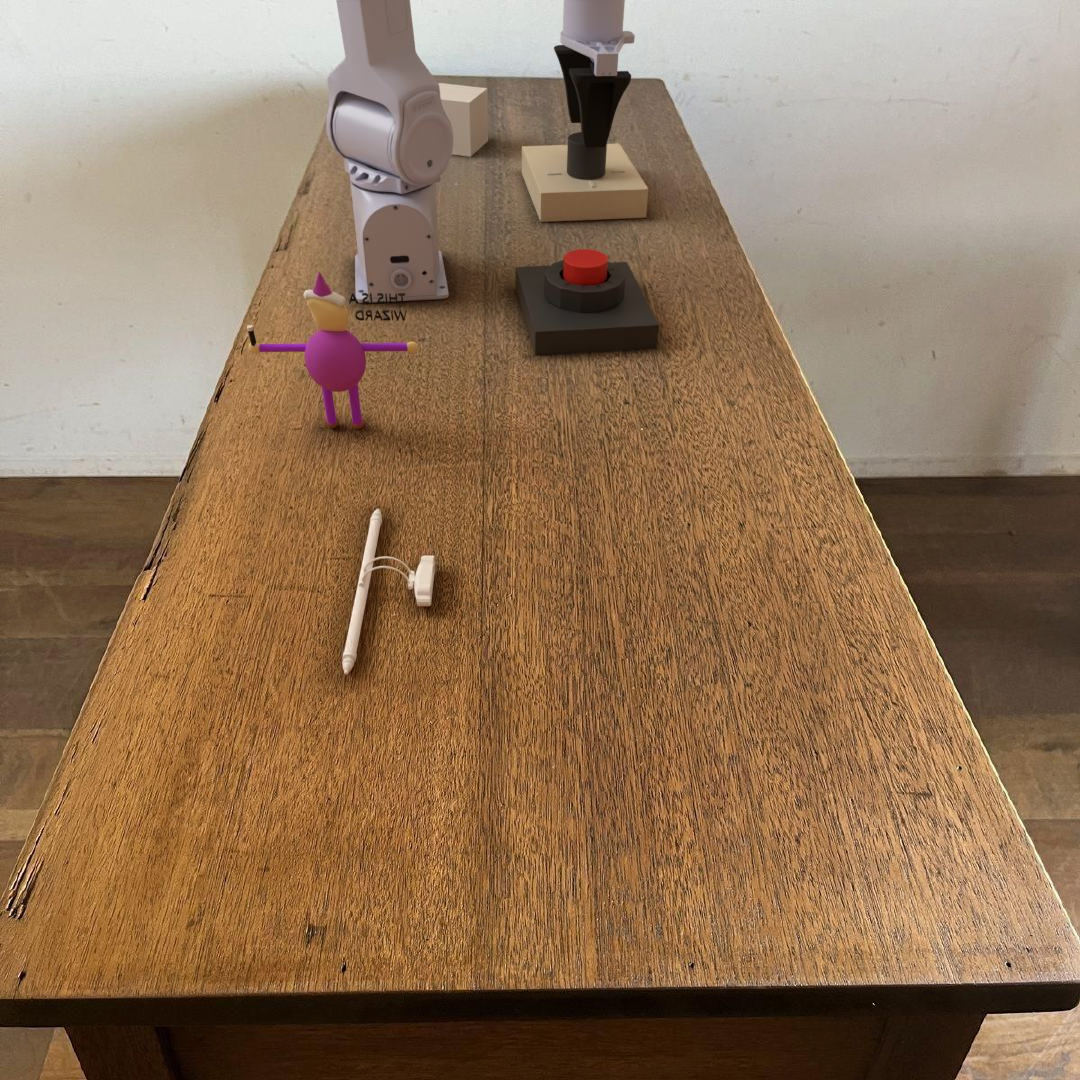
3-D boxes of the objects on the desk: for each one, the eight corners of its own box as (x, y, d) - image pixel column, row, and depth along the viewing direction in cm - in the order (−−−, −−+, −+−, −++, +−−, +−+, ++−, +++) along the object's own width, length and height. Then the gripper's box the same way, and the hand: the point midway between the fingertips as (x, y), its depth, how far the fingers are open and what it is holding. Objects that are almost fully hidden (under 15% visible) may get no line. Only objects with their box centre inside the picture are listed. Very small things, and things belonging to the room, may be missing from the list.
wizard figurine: (424, 418, 71) (414, 261, 63) (422, 443, 69) (411, 283, 61) (267, 419, 71) (238, 261, 63) (259, 444, 68) (227, 282, 61)
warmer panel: (646, 217, 101) (648, 187, 99) (540, 222, 99) (540, 191, 97) (617, 170, 111) (619, 141, 109) (521, 173, 110) (521, 144, 108)
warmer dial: (608, 178, 101) (611, 140, 98) (570, 180, 100) (571, 142, 98) (600, 165, 104) (603, 128, 101) (563, 166, 103) (564, 129, 101)
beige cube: (470, 157, 114) (469, 102, 110) (422, 150, 115) (419, 96, 111) (488, 140, 118) (487, 87, 114) (442, 135, 120) (439, 82, 116)
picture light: (373, 513, 62) (370, 487, 61) (441, 514, 63) (440, 487, 61) (339, 678, 52) (335, 650, 50) (422, 679, 52) (420, 651, 50)
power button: (610, 286, 80) (612, 266, 79) (567, 288, 80) (567, 268, 79) (601, 267, 83) (603, 247, 82) (559, 269, 82) (560, 249, 81)
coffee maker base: (656, 349, 80) (661, 304, 77) (534, 356, 78) (535, 310, 76) (625, 284, 89) (628, 241, 86) (515, 290, 87) (515, 247, 85)
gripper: (656, -2, 86) (642, 156, 94) (620, -34, 97) (611, 111, 105) (576, -2, 85) (570, 158, 93) (550, -34, 96) (546, 112, 105)
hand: (587, 133), depth 99 cm, fingers open, 7 cm apart
